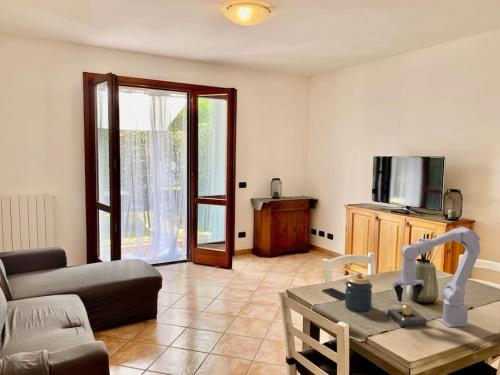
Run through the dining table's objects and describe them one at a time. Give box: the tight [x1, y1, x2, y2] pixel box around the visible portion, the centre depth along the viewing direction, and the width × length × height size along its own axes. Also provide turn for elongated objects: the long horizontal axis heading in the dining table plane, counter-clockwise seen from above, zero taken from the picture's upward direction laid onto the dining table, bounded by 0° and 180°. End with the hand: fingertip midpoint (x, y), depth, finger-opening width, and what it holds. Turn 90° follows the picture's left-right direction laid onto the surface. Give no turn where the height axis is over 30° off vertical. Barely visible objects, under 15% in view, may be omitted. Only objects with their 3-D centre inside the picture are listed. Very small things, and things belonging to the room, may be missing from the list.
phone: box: [321, 287, 346, 301], centre depth 206 cm, size 8×1×15 cm
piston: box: [401, 303, 413, 317], centre depth 173 cm, size 4×4×7 cm
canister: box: [344, 272, 373, 313], centre depth 188 cm, size 13×13×18 cm
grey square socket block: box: [387, 308, 427, 328], centre depth 174 cm, size 12×12×3 cm
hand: (407, 300), depth 173 cm, fingers open, 7 cm apart
